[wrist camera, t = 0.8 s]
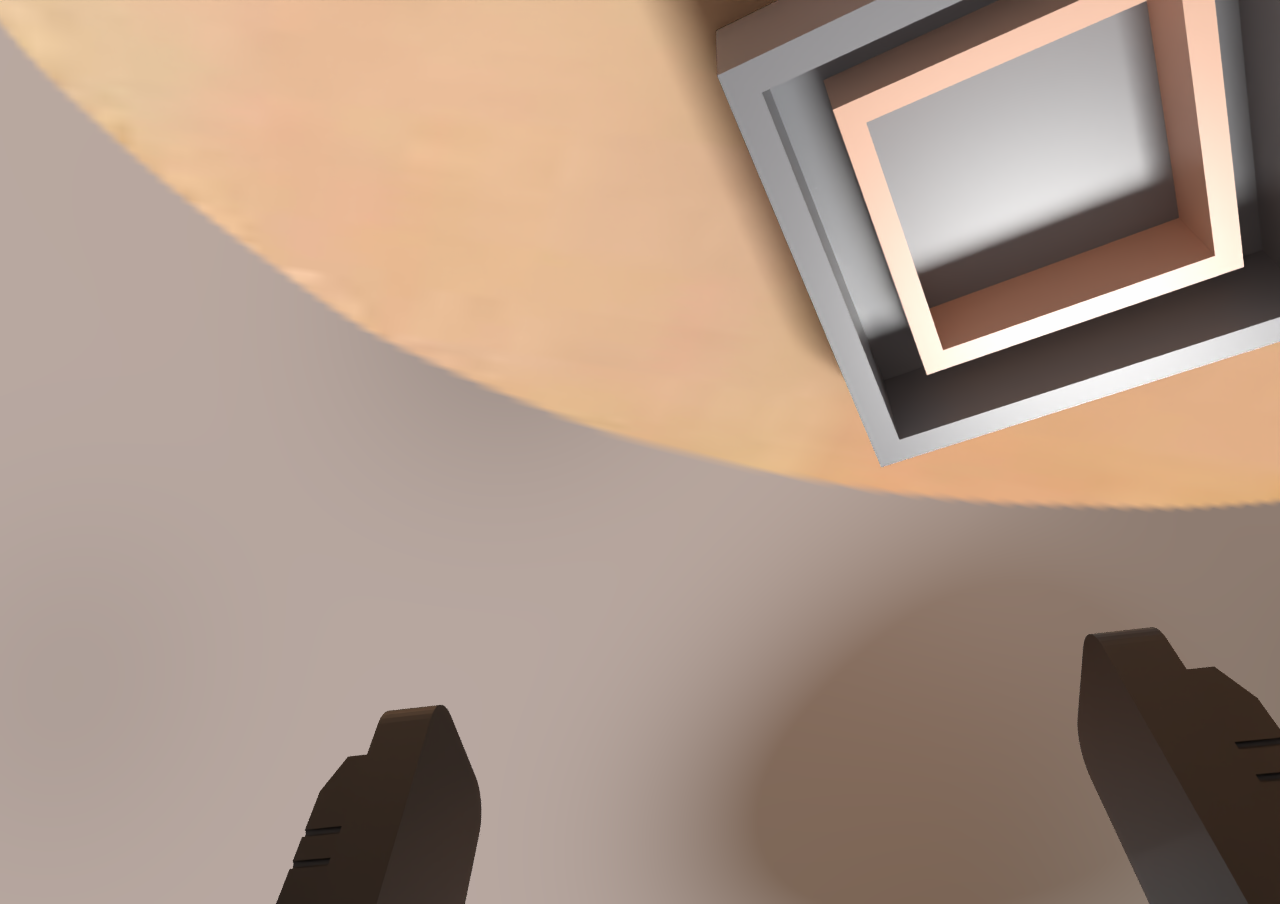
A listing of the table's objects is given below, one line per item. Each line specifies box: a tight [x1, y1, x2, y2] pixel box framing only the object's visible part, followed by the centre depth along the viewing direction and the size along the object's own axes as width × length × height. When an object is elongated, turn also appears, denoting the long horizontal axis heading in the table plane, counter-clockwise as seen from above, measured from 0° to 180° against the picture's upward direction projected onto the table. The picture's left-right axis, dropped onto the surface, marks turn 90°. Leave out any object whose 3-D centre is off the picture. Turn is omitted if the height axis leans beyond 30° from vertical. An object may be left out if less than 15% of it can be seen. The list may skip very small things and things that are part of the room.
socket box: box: [716, 0, 1280, 467], centre depth 31 cm, size 16×16×5 cm
